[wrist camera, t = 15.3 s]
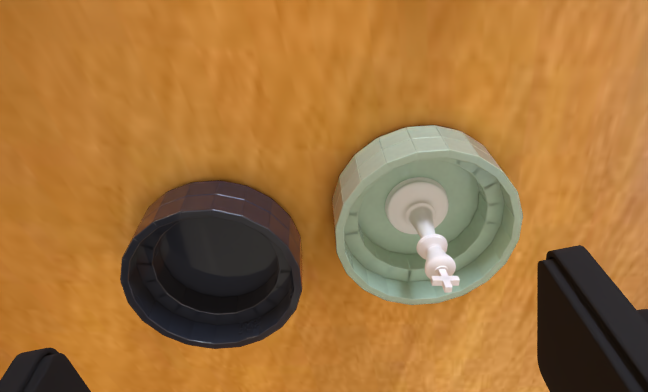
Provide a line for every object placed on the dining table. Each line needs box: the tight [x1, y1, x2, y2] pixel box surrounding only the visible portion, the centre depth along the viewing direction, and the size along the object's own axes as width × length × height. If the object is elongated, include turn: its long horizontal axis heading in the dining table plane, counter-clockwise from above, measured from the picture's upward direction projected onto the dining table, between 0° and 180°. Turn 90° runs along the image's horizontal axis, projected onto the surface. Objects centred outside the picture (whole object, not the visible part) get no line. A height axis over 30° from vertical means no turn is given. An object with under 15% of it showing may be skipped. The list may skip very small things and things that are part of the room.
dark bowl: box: [120, 180, 302, 349], centre depth 39 cm, size 13×13×4 cm
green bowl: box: [332, 125, 523, 305], centre depth 37 cm, size 13×13×4 cm
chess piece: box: [385, 177, 460, 293], centre depth 35 cm, size 5×5×10 cm
